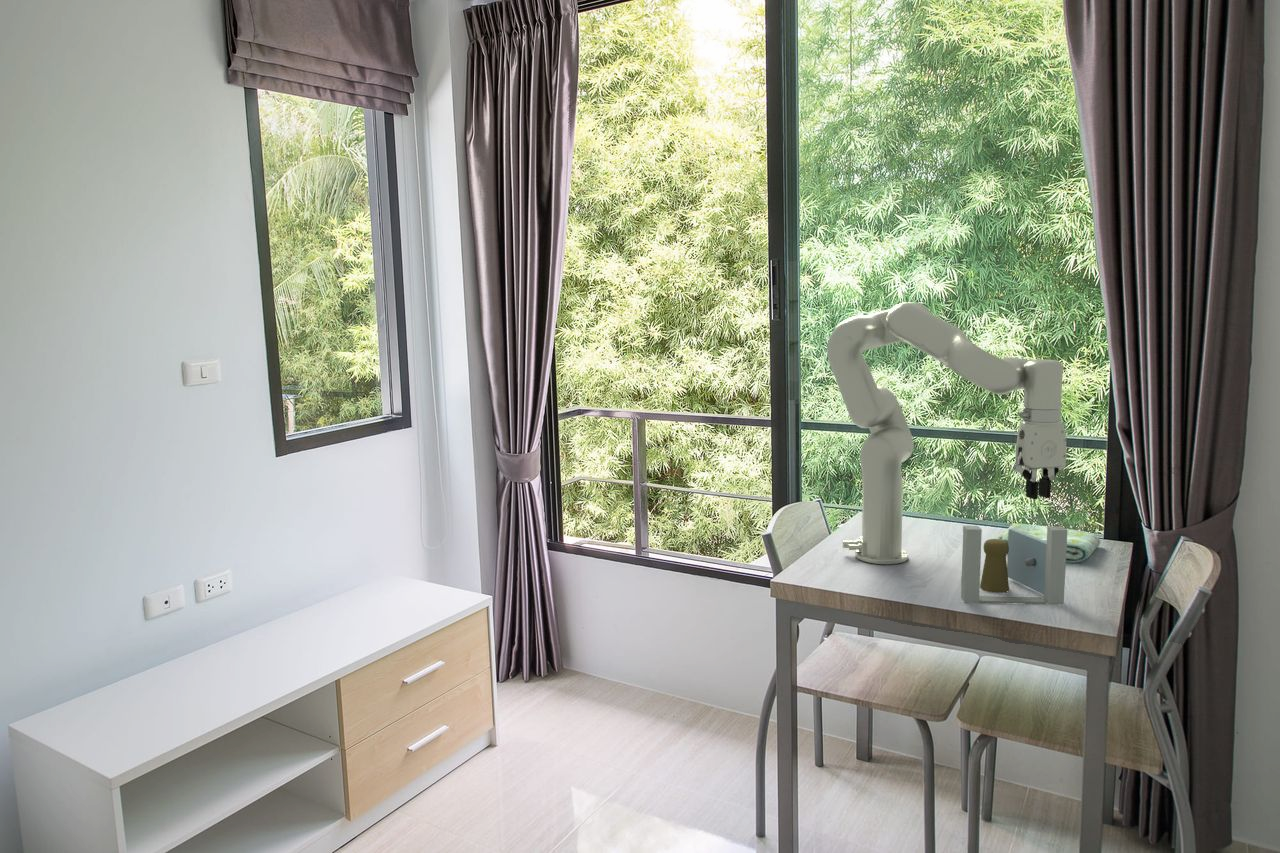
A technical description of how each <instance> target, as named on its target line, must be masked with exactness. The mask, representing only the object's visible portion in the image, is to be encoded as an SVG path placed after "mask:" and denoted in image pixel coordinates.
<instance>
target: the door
mask: <svg viewBox="0 0 1280 853" xmlns="http://www.w3.org/2000/svg"><path fill="white" fill-rule="evenodd" d="M1046 545H1047V542H1046V541H1044V540H1041V539H1039V538H1036V537H1034V536H1031V535H1029V534H1026V533H1024V532H1021V531H1019V530H1016V529H1014V528H1011V529H1009V533H1008V546H1009V552H1008V554H1007V556H1006V562H1007V572H1008V579H1011V580H1012V581H1015V582H1017V583H1019V584H1021V585H1023V586H1025V587H1027V588H1028V589H1031V590H1033V591H1035V592H1037V593H1039V594H1041V595H1043V596H1044V587H1045V566H1046Z"/></svg>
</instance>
